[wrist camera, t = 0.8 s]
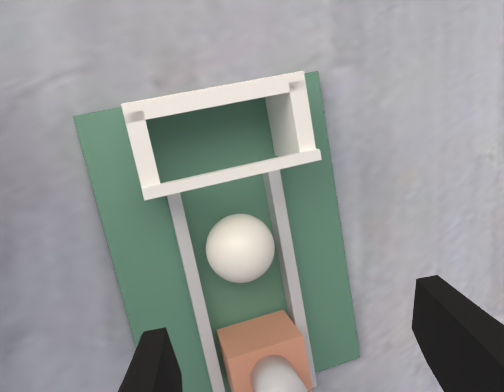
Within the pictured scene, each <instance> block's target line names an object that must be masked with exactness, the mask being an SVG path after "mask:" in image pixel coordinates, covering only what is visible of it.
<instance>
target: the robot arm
mask: <svg viewBox="0 0 504 392" xmlns="http://www.w3.org/2000/svg"><path fill="white" fill-rule="evenodd" d="M412 330H413V332H414V335H415V337H416V339H417V342H418V344H419V346H420V348H421V351H422V353H423V355H424V357H425V359H426V362H427V363H428V365H429V367H430V369H431V370H432V372H433V374H434V375H435V377H436V379H437V380H438V382H439V384H440V386H441V387H442V389H443V391H444V392H504V325H503V324H502V323H500V322H499V321H497V320H496V319H495V318H493V317H492V316H490V315H489V314H488V313H486V312H485V311H484V310H482V309H481V308H480V307H478V306H477V305H476V304H474V303H473V302H472V301H470V300H469V299H468V298H467V297H465V296H464V295H463V294H461V293H460V292H459V291H457V290H456V289H455V288H453V287H452V286H451V285H450V284H448V283H447V282H446V281H444V280H443V279H442V278H440V277H439V276H438V275H435V276H430V277H424V278H419V279H416V288H415V299H414V309H413V320H412ZM118 392H183V388H182V373H181V370H180V367H179V364H178V361H177V358H176V355H175V352H174V350H173V347H172V344H171V341H170V338H169V335H168V332H167V329H166V327H164V328H159V329H154V330H149V331H144V332H143V333H142V335H141V337H140V340H139V343H138V345H137V348H136V351H135V353H134V356H133V358H132V361H131V363H130V366H129V368H128V370H127V373H126V375H125V377H124V380H123V382H122V384H121V386H120V388H119V391H118Z"/></svg>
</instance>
